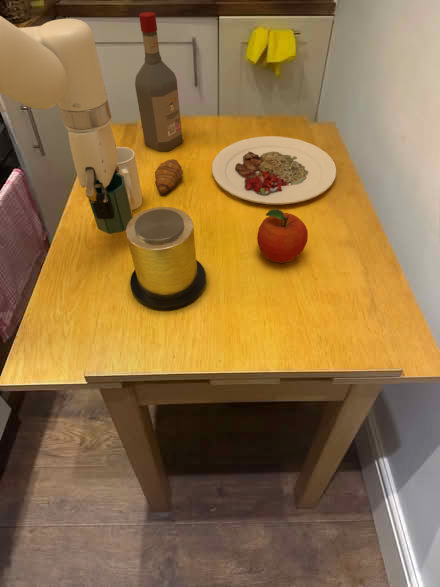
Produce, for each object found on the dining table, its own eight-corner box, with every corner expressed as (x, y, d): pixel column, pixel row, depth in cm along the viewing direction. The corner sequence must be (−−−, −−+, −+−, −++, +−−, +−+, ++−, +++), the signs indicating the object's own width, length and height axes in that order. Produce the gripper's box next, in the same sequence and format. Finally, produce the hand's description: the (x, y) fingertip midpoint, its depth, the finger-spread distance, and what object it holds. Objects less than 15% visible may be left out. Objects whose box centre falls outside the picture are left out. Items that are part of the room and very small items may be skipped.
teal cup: (90, 225, 80) (77, 186, 74) (114, 207, 84) (104, 168, 78) (116, 237, 78) (105, 198, 71) (140, 218, 82) (132, 179, 75)
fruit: (300, 275, 77) (307, 234, 69) (251, 265, 79) (253, 224, 71) (308, 242, 83) (315, 201, 75) (262, 234, 85) (265, 194, 78)
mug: (111, 198, 95) (98, 151, 86) (139, 191, 96) (129, 144, 87) (122, 223, 88) (109, 174, 80) (151, 215, 90) (142, 166, 81)
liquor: (187, 140, 112) (176, 12, 90) (164, 154, 108) (147, 22, 85) (163, 131, 116) (147, 6, 94) (140, 144, 111) (117, 15, 89)
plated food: (321, 140, 111) (323, 128, 108) (347, 207, 91) (351, 194, 88) (211, 144, 110) (210, 132, 108) (213, 212, 90) (212, 199, 88)
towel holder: (115, 290, 75) (97, 232, 65) (163, 247, 83) (153, 189, 73) (175, 323, 70) (166, 265, 60) (220, 273, 78) (218, 215, 67)
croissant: (177, 198, 94) (175, 179, 91) (149, 196, 95) (145, 177, 91) (188, 166, 103) (187, 148, 100) (162, 165, 104) (160, 147, 100)
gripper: (78, 90, 71) (102, 179, 84) (45, 140, 59) (79, 234, 72) (120, 90, 70) (138, 179, 84) (96, 140, 59) (121, 234, 72)
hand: (110, 204), depth 78 cm, fingers closed on teal cup, 7 cm apart
